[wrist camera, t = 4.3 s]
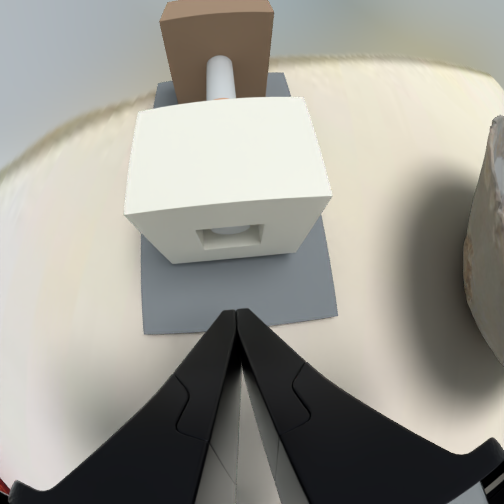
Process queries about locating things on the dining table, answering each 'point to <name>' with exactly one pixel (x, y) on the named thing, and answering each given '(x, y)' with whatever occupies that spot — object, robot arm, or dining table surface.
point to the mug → (4, 487)
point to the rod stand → (237, 269)
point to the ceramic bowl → (488, 245)
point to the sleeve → (226, 177)
